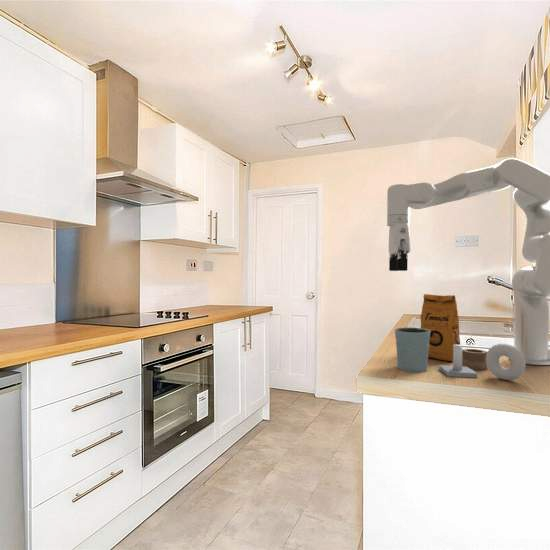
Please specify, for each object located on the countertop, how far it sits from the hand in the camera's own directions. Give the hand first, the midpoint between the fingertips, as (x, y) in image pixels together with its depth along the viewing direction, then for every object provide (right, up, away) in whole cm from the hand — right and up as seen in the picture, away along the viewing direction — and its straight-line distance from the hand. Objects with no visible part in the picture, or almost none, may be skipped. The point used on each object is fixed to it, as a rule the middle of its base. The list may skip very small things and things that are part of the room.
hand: (397, 270), depth 133 cm
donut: (+21, -31, -27) cm, 46 cm away
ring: (+20, -30, -13) cm, 38 cm away
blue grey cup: (-1, -30, -16) cm, 34 cm away
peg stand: (+11, -30, -21) cm, 38 cm away
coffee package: (+14, -30, -1) cm, 34 cm away
